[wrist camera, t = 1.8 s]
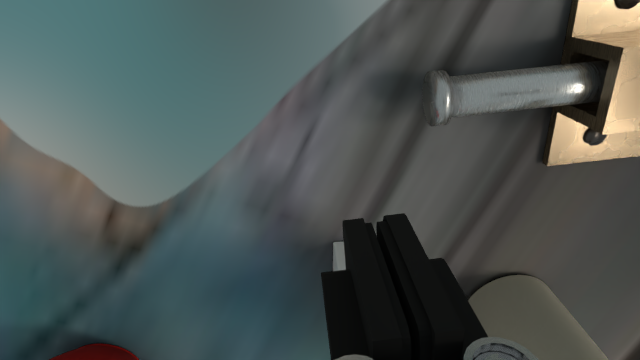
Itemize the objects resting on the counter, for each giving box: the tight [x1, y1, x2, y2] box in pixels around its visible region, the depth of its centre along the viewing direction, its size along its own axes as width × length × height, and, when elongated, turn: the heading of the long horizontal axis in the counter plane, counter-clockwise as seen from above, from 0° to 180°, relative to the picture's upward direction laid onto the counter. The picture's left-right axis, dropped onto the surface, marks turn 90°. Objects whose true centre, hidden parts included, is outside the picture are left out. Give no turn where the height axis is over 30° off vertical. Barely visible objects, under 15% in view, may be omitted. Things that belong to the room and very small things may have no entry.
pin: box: [422, 60, 609, 126], centre depth 24 cm, size 16×3×3 cm, turn 95°
